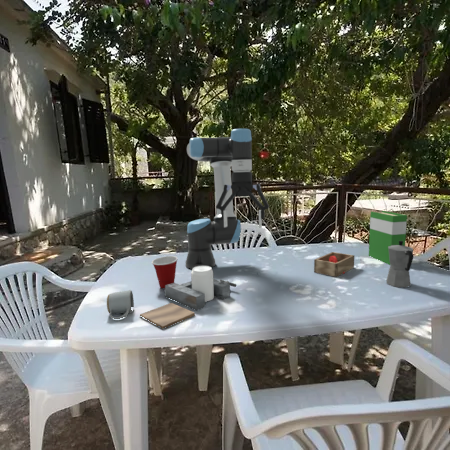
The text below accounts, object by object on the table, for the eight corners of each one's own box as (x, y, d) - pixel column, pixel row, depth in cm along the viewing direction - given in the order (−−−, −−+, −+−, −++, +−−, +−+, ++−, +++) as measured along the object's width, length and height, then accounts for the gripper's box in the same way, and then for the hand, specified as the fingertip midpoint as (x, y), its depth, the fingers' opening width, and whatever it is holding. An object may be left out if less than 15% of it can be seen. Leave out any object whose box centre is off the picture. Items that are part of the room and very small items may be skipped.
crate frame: (314, 272, 154) (314, 259, 153) (332, 263, 167) (332, 251, 166) (336, 277, 146) (337, 263, 145) (353, 267, 159) (354, 255, 158)
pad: (140, 317, 112) (139, 314, 112) (171, 305, 121) (171, 302, 121) (162, 329, 103) (162, 326, 103) (194, 315, 112) (194, 312, 112)
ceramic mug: (110, 309, 119) (108, 288, 118) (134, 307, 120) (132, 286, 119) (105, 323, 109) (103, 300, 107) (131, 320, 110) (129, 298, 109)
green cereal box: (368, 255, 179) (370, 211, 175) (381, 255, 180) (383, 210, 176) (390, 265, 162) (393, 216, 158) (403, 263, 163) (407, 215, 159)
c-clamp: (165, 297, 129) (164, 285, 128) (207, 282, 145) (207, 271, 144) (196, 310, 116) (196, 296, 115) (239, 292, 132) (239, 280, 131)
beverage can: (197, 305, 121) (196, 273, 119) (189, 297, 128) (187, 267, 126) (217, 300, 124) (216, 269, 122) (208, 293, 131) (207, 264, 129)
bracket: (344, 274, 151) (345, 257, 150) (335, 275, 151) (335, 258, 149) (332, 266, 163) (333, 251, 161) (324, 267, 162) (324, 251, 161)
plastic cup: (150, 284, 143) (149, 257, 141) (175, 280, 147) (174, 254, 145) (156, 293, 133) (154, 264, 131) (182, 288, 138) (180, 260, 136)
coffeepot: (379, 278, 143) (381, 237, 140) (401, 278, 143) (404, 237, 140) (397, 291, 128) (400, 246, 125) (422, 291, 128) (425, 245, 125)
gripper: (207, 172, 125) (209, 228, 128) (274, 170, 119) (274, 229, 123) (212, 172, 132) (214, 224, 136) (276, 170, 126) (276, 225, 130)
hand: (242, 227), depth 129 cm, fingers open, 13 cm apart
